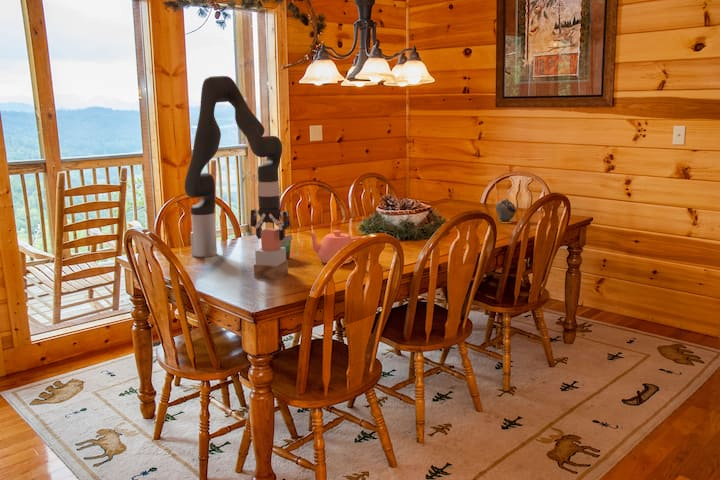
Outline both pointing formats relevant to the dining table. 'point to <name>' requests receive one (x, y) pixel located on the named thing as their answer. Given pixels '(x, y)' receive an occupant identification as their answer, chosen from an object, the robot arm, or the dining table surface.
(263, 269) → the bottom slab
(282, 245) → the food container
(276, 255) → the top slab
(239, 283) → the dining table surface
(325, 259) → the teapot
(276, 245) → the red block
